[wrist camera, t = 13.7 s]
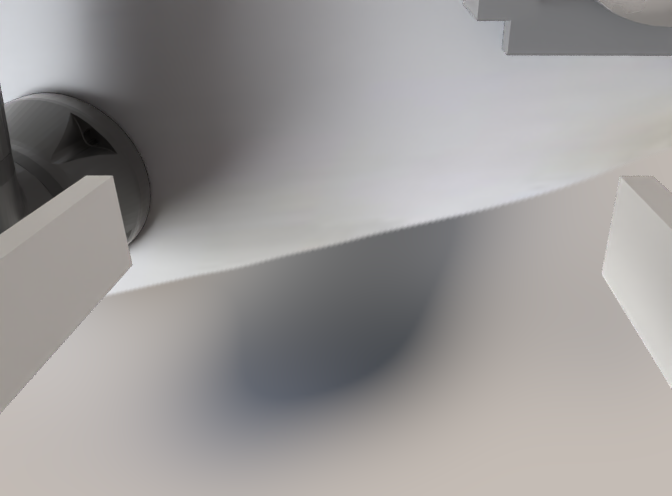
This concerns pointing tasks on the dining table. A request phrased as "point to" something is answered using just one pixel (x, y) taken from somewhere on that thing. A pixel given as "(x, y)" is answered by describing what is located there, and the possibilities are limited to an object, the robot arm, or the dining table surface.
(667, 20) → the scale pan
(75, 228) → the robot arm
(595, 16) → the dial scale
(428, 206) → the dining table surface
